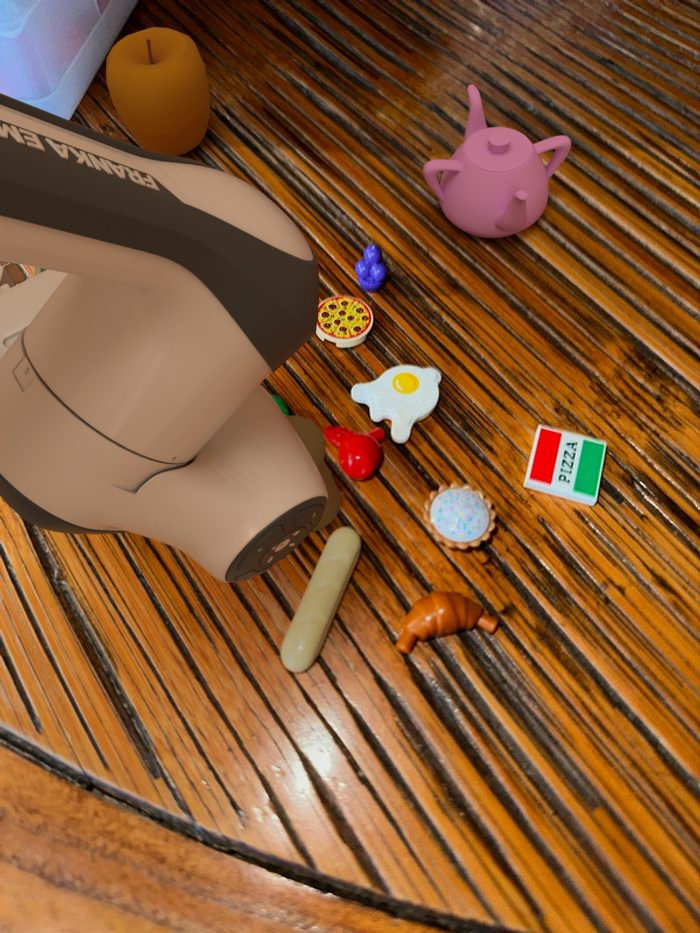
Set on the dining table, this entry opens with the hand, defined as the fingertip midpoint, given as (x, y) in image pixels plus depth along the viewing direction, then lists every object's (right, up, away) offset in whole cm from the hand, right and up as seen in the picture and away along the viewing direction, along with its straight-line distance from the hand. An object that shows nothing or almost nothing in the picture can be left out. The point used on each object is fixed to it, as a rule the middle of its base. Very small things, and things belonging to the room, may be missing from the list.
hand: (63, 228), depth 54 cm
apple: (0, +21, +37) cm, 43 cm away
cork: (+16, -20, +13) cm, 29 cm away
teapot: (+35, +11, +29) cm, 47 cm away
